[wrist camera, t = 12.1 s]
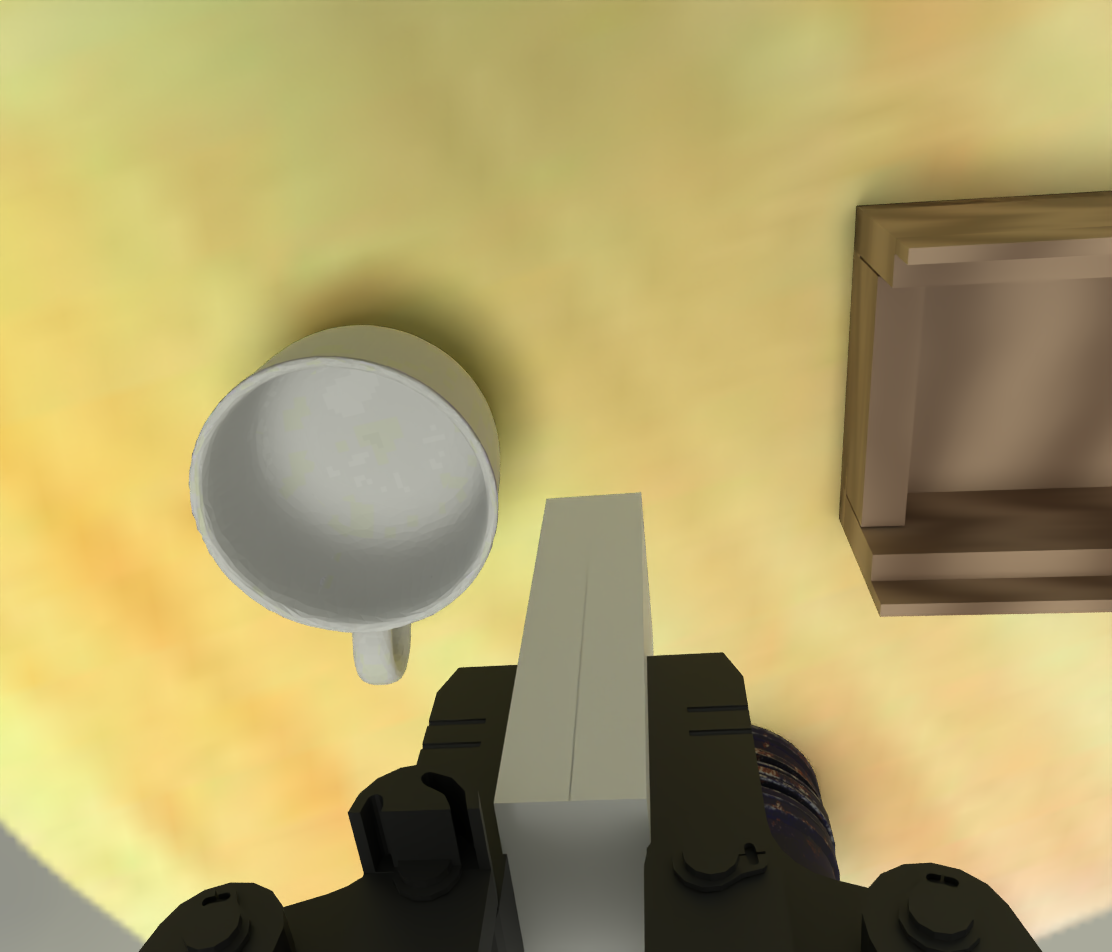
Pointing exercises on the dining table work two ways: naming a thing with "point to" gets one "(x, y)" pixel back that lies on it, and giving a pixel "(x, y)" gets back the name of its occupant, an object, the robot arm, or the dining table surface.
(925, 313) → the box
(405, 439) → the teacup
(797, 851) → the dark blue barrel
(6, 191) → the dining table surface
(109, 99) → the dining table surface
